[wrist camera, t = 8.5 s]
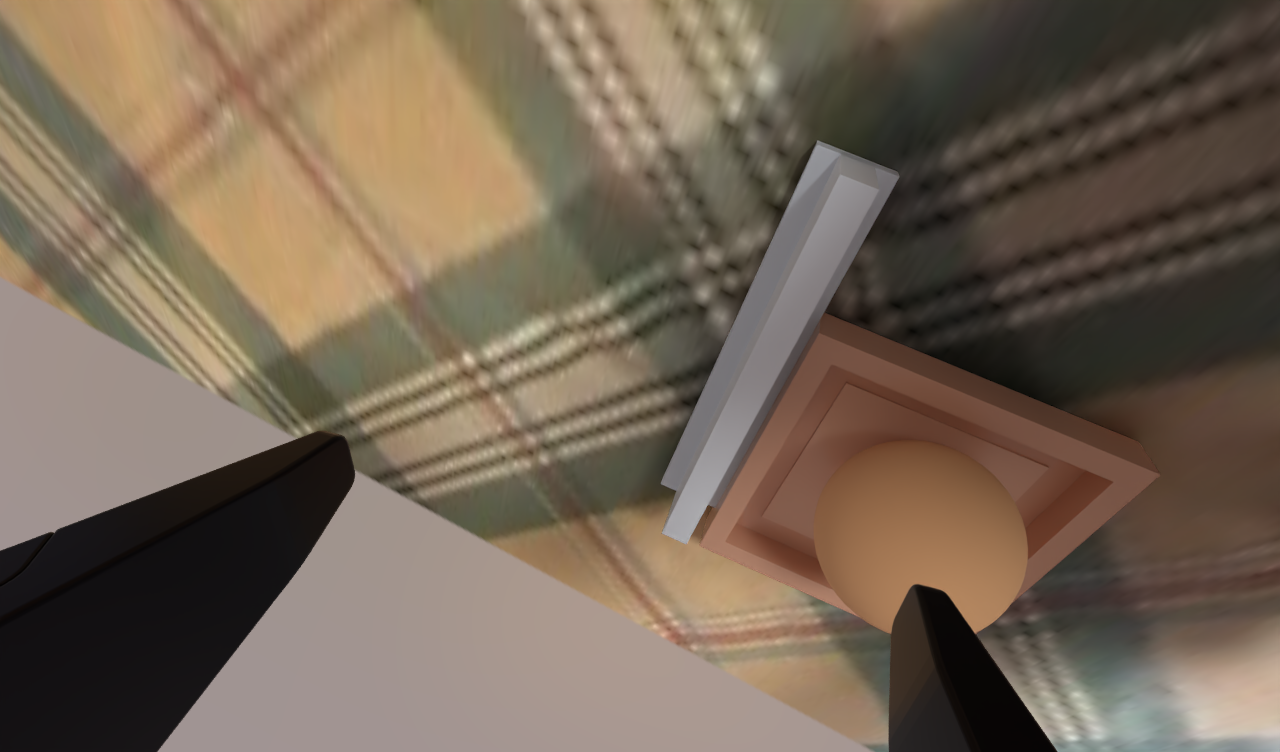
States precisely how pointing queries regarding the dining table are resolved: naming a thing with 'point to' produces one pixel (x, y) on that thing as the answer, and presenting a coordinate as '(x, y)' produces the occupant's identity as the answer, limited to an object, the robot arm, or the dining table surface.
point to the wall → (774, 324)
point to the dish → (913, 410)
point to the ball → (919, 532)
